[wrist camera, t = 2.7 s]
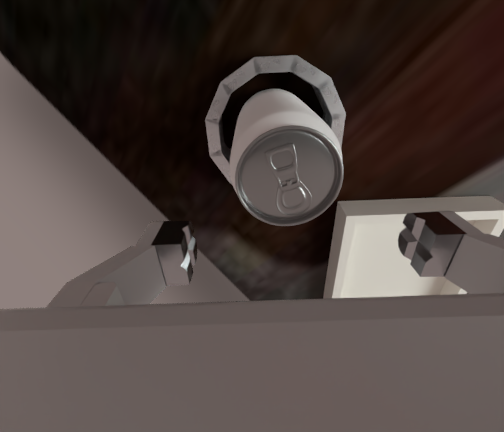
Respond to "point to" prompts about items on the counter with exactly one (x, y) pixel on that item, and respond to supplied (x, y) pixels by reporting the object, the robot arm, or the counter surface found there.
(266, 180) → the can
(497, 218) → the tray
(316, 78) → the ring
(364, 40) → the counter surface
